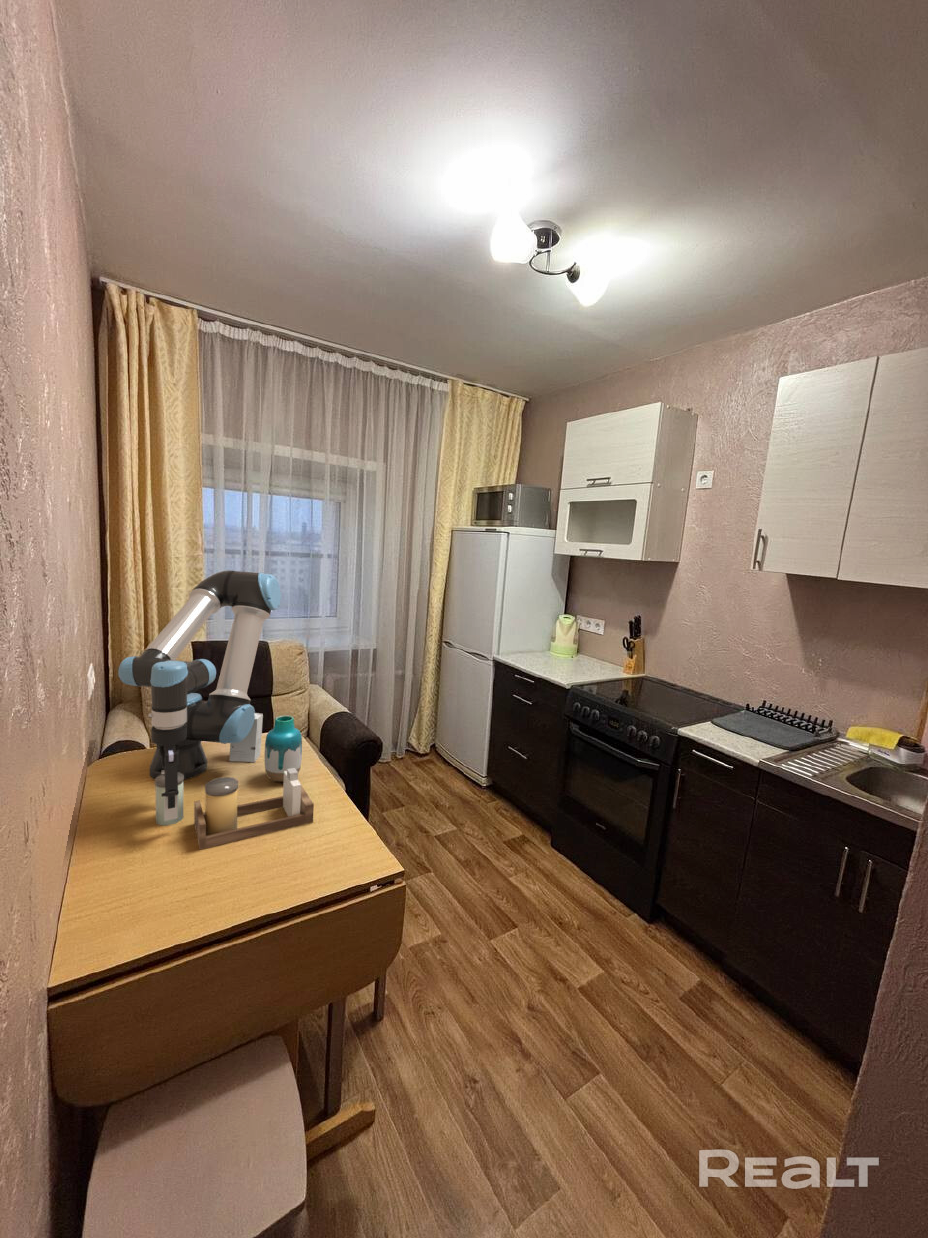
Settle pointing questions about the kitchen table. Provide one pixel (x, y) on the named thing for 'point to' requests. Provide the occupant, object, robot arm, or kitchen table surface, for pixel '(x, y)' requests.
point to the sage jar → (160, 800)
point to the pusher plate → (291, 792)
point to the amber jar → (221, 805)
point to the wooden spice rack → (256, 829)
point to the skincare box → (248, 743)
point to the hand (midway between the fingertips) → (169, 806)
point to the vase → (282, 748)
